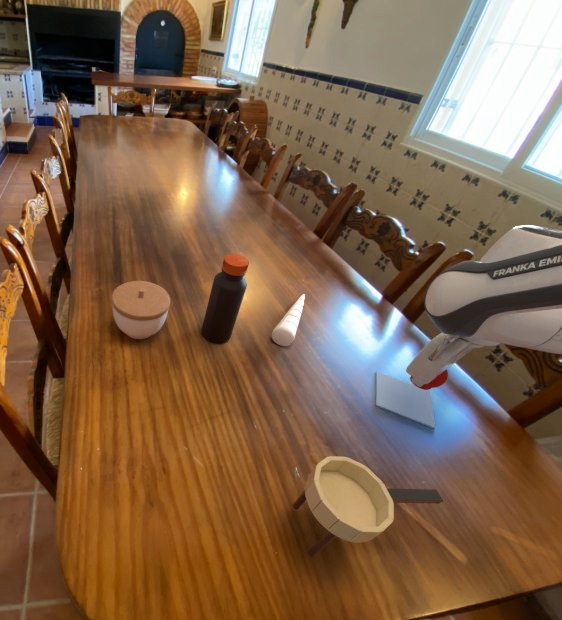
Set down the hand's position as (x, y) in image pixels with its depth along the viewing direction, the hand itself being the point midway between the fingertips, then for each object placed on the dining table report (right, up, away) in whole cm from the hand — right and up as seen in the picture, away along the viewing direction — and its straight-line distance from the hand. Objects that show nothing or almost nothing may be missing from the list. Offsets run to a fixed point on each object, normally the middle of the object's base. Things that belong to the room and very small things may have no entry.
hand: (426, 376), depth 67 cm
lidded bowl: (-54, +8, +16) cm, 57 cm away
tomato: (0, -1, +1) cm, 2 cm away
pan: (-25, -20, -15) cm, 35 cm away
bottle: (-36, +7, +16) cm, 40 cm away
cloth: (-1, -6, +5) cm, 7 cm away
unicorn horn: (-16, +10, +22) cm, 29 cm away
